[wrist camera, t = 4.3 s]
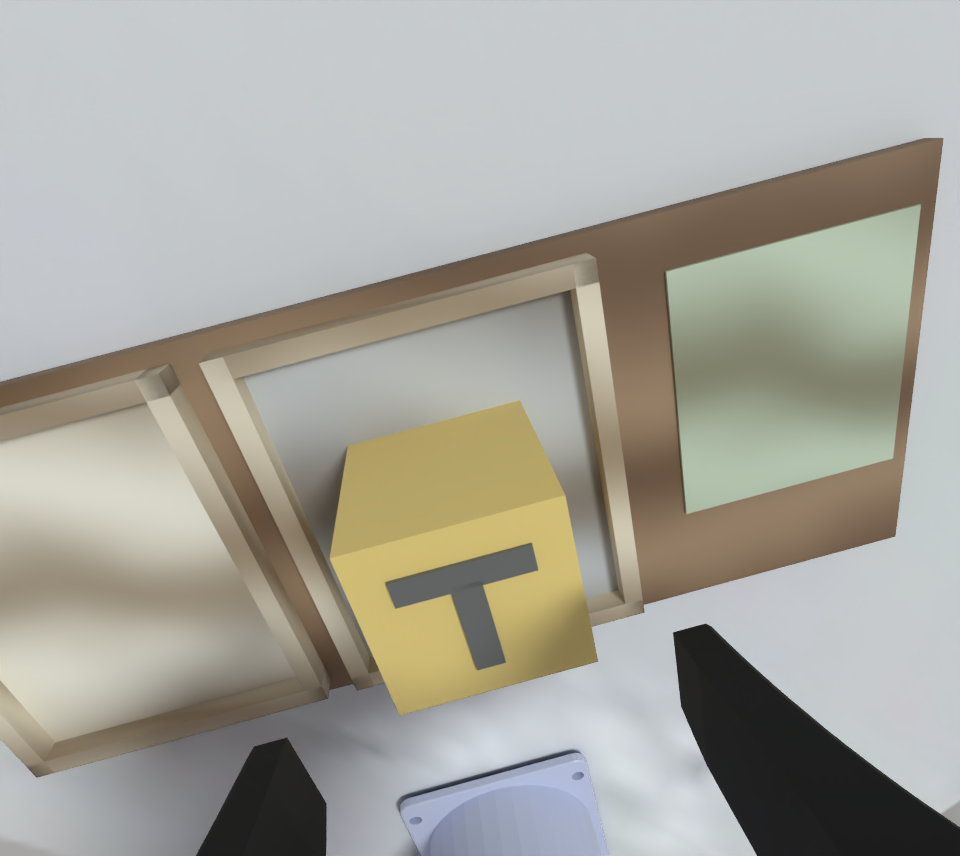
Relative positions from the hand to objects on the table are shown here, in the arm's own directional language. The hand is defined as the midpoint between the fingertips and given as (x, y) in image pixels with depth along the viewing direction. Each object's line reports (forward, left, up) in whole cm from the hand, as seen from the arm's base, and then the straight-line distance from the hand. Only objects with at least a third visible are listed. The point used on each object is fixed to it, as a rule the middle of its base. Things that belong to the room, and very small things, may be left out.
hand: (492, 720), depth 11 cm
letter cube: (0, 0, -8) cm, 8 cm away
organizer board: (0, +1, -8) cm, 8 cm away
